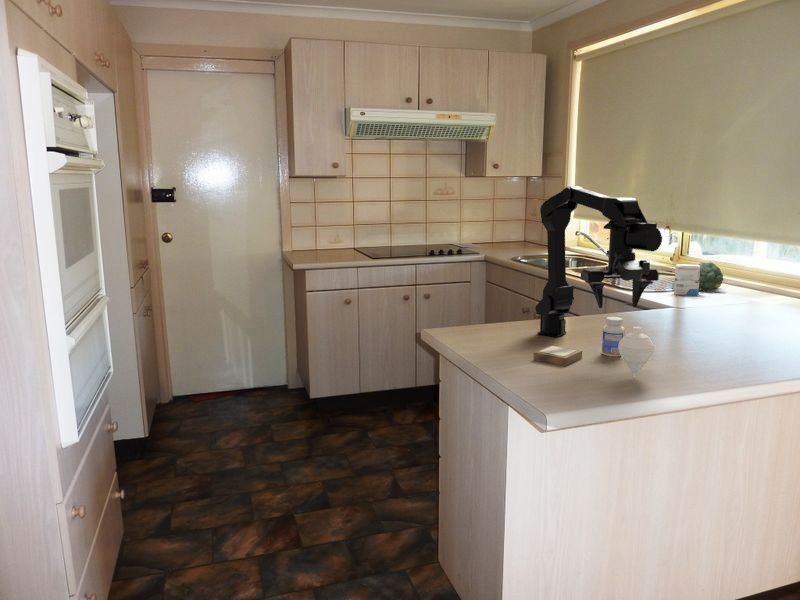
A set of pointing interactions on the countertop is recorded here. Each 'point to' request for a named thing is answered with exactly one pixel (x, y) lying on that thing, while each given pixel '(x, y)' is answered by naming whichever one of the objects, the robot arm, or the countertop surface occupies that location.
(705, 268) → the vegetable
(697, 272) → the ink box
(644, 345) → the spinning top
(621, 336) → the pill bottle
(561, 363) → the walnut picture frame
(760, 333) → the countertop surface
